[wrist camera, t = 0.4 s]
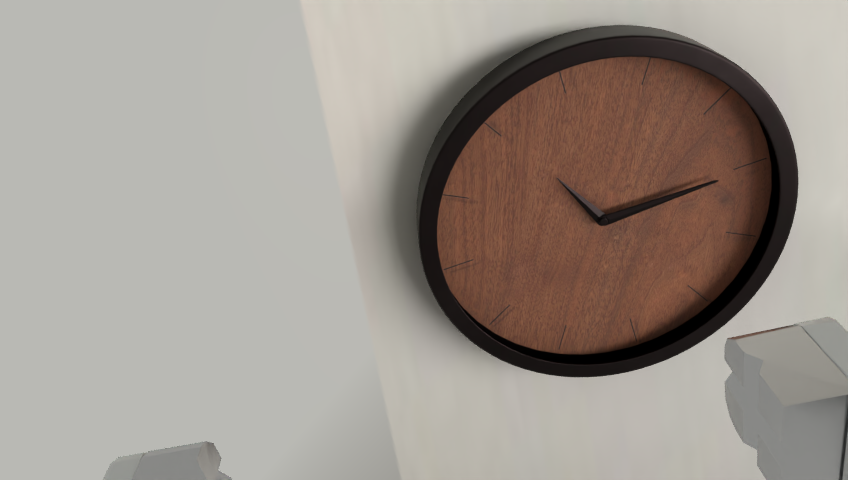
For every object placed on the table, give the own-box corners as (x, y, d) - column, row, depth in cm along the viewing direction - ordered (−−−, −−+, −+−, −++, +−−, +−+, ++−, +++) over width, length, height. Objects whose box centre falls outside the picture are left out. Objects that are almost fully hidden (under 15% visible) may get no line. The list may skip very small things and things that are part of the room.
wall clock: (395, 361, 63) (453, 5, 48) (394, 335, 66) (448, -4, 52) (720, 391, 66) (865, 67, 52) (703, 365, 70) (835, 54, 55)
